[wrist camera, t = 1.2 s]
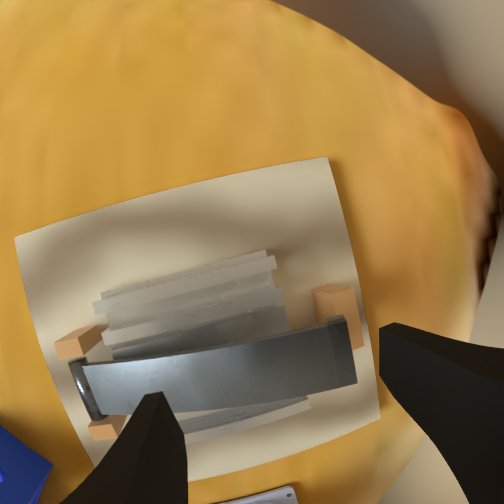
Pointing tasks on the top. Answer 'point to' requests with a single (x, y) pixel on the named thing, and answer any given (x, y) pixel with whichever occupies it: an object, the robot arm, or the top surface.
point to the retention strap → (223, 372)
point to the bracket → (20, 471)
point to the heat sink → (202, 328)
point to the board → (194, 255)
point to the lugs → (327, 305)
